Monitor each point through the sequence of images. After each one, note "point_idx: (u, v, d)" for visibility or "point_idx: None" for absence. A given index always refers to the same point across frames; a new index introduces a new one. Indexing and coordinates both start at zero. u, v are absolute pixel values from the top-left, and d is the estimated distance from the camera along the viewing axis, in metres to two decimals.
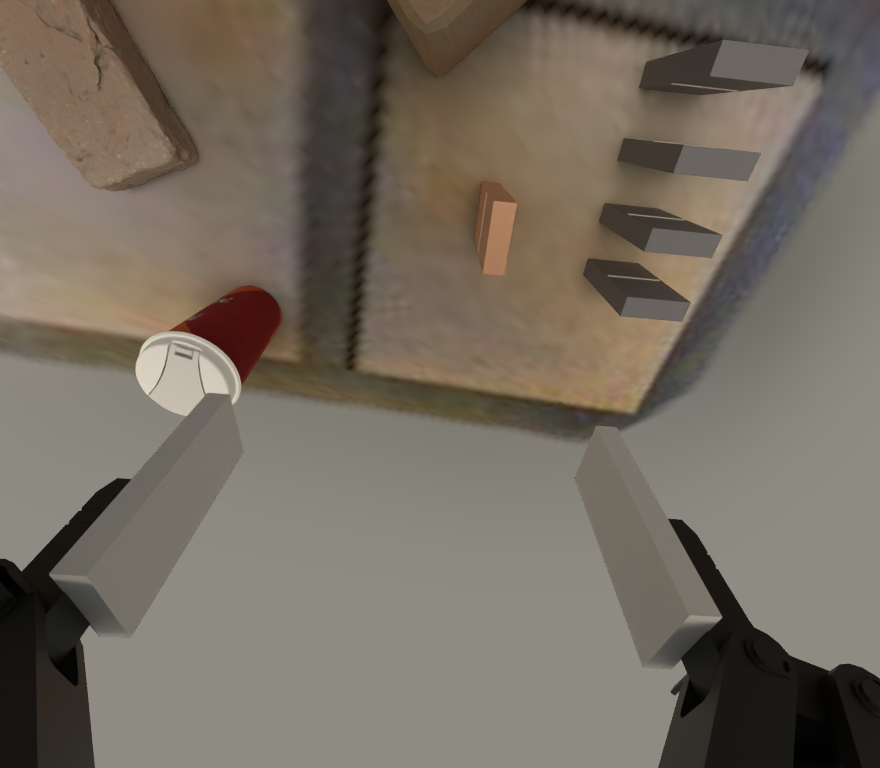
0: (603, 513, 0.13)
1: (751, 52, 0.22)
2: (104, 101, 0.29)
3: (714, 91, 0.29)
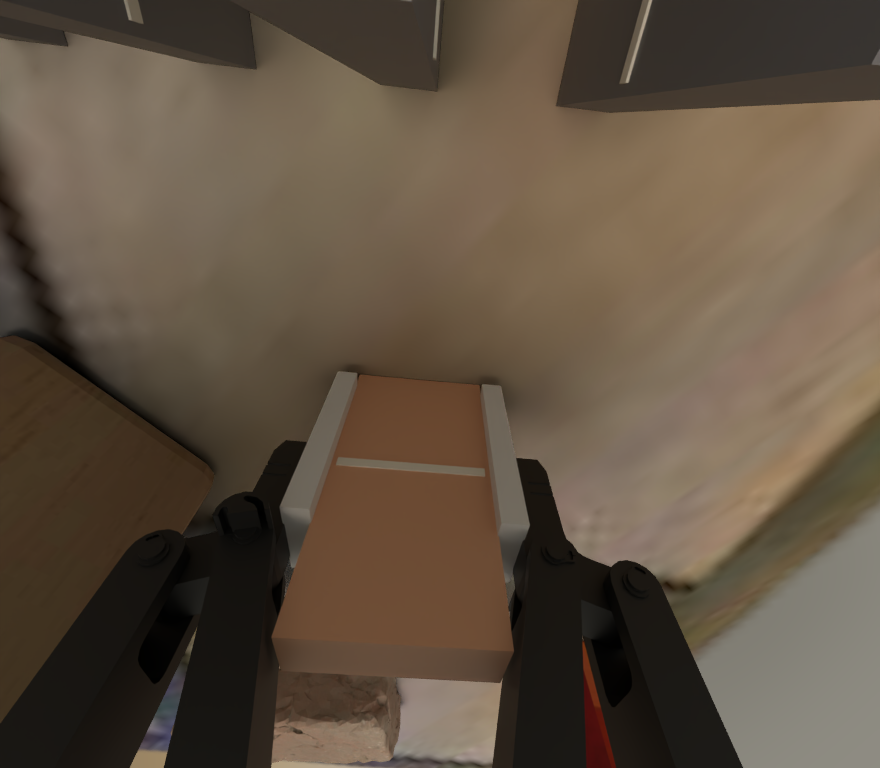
0: None
1: None
2: (325, 740, 0.30)
3: None
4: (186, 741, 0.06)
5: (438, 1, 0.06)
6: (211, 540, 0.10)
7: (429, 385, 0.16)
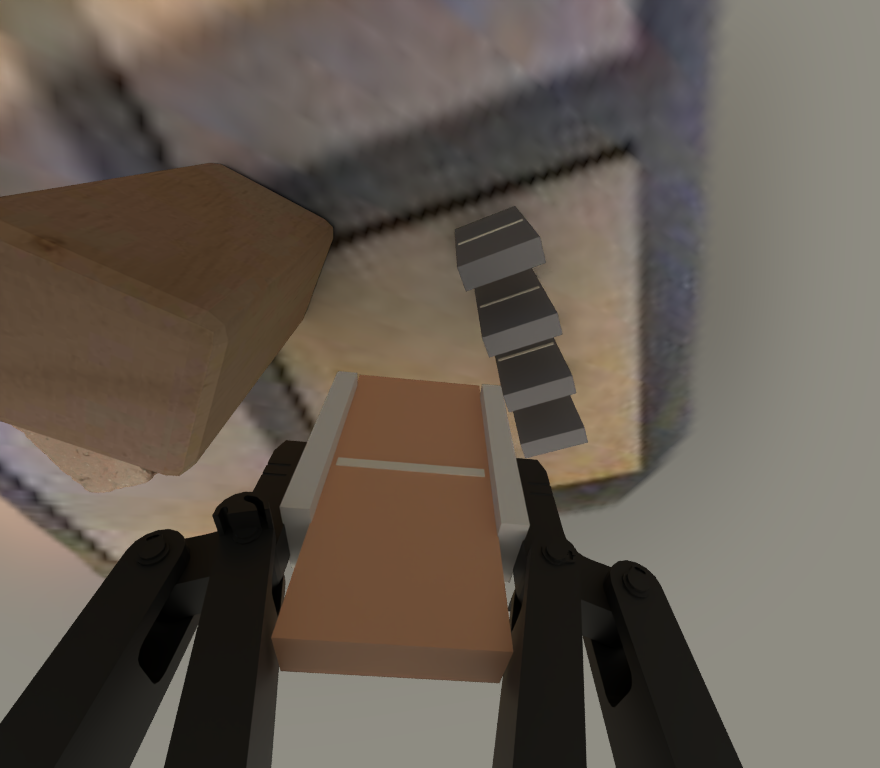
0: None
1: (489, 262, 0.23)
2: (100, 456, 0.41)
3: None
4: (186, 741, 0.06)
5: None
6: (211, 540, 0.10)
7: (429, 386, 0.16)
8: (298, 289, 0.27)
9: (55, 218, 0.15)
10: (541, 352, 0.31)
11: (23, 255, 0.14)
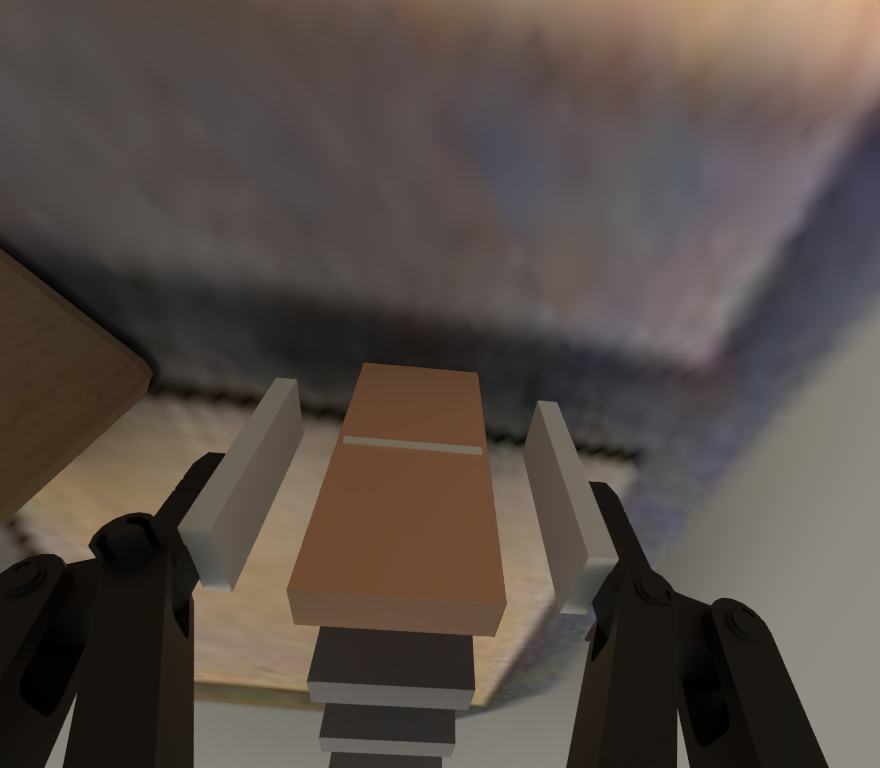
0: (539, 480, 0.14)
1: (371, 689, 0.12)
2: None
3: None
4: None
5: None
6: (101, 564, 0.09)
7: (429, 372, 0.17)
8: None
9: None
10: None
11: None
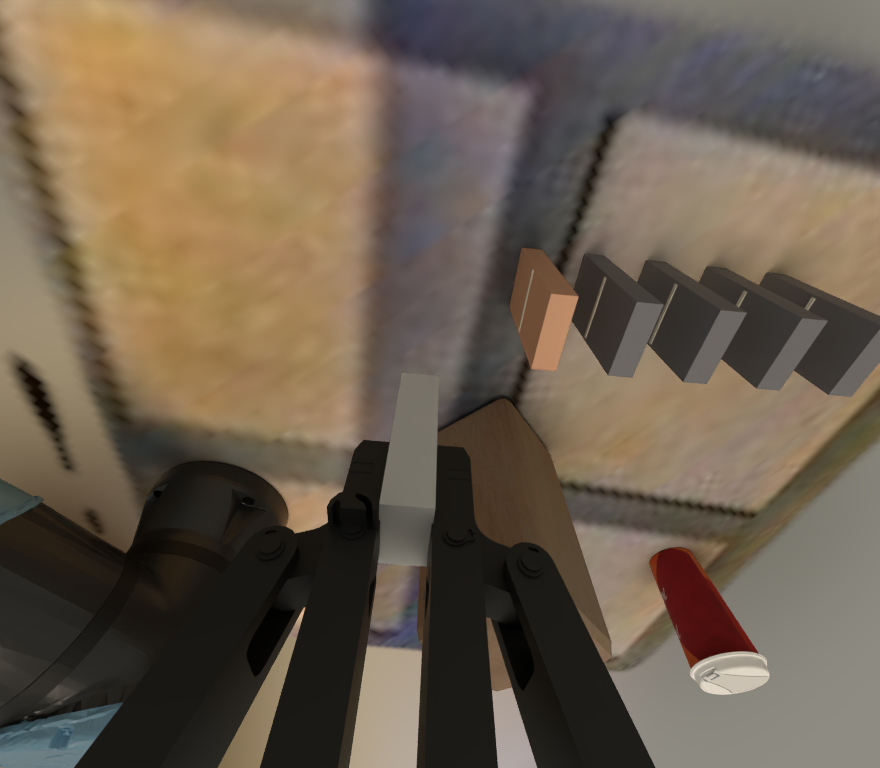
0: None
1: (624, 350, 0.24)
2: None
3: None
4: (287, 723, 0.07)
5: None
6: (315, 536, 0.10)
7: (516, 275, 0.32)
8: (536, 468, 0.33)
9: None
10: None
11: None
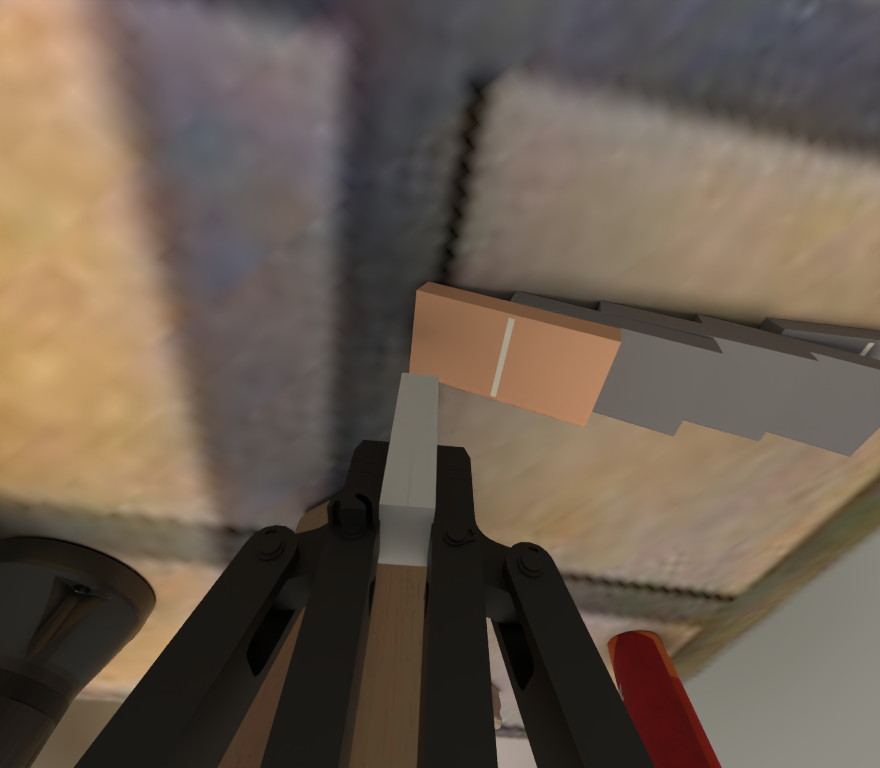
0: None
1: None
2: None
3: None
4: (287, 724, 0.07)
5: None
6: (315, 536, 0.10)
7: (419, 329, 0.21)
8: (410, 585, 0.23)
9: None
10: (809, 378, 0.20)
11: None
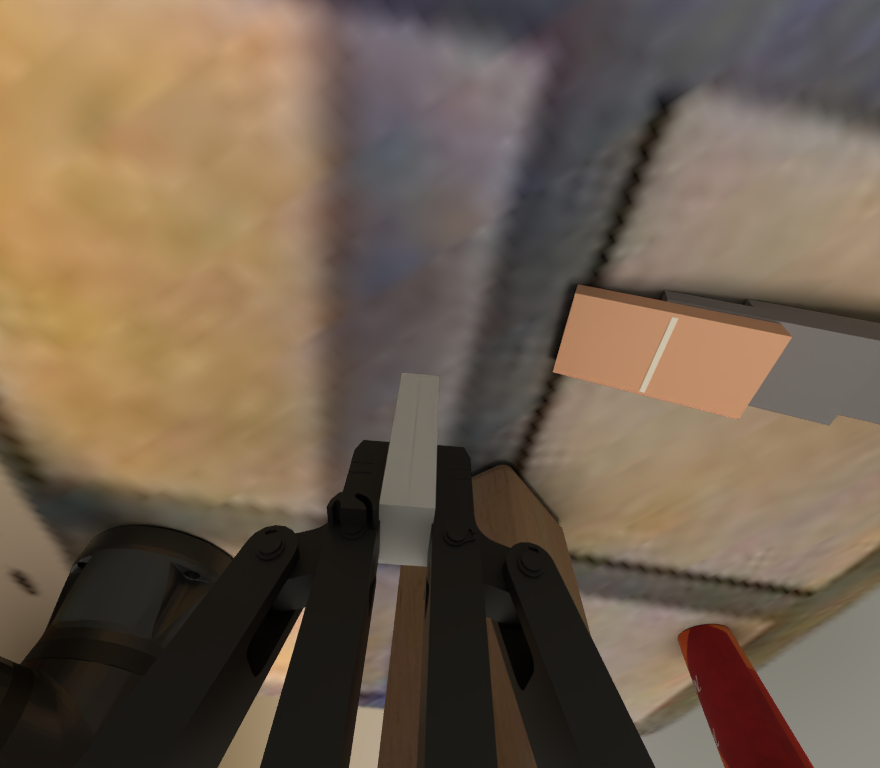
0: None
1: None
2: None
3: None
4: (287, 723, 0.07)
5: None
6: (315, 536, 0.10)
7: (571, 330, 0.22)
8: None
9: None
10: None
11: None
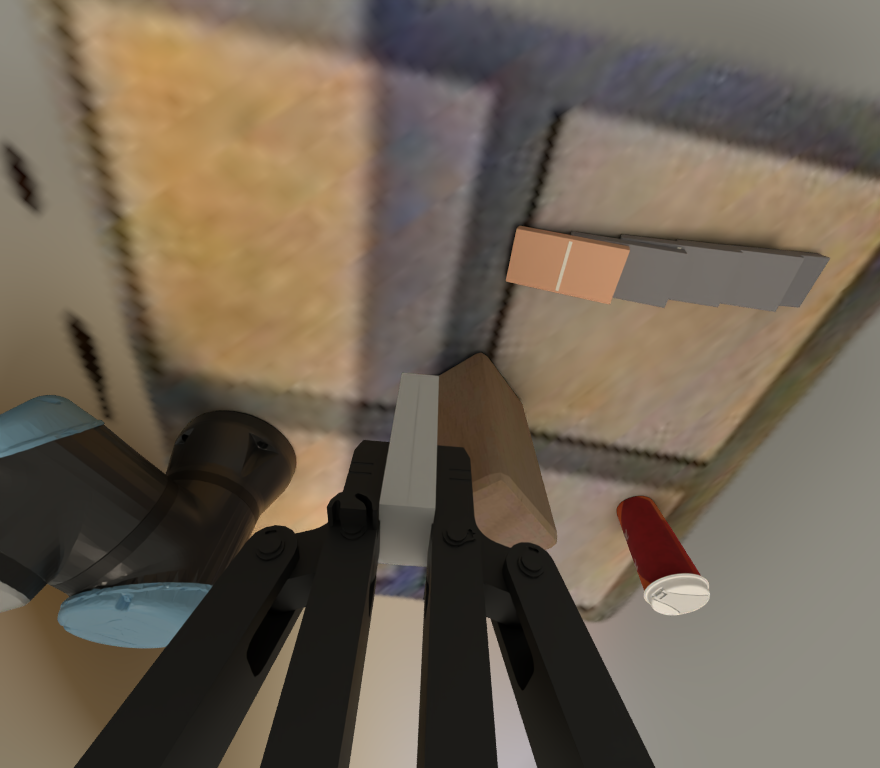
0: None
1: None
2: None
3: None
4: (287, 723, 0.07)
5: None
6: (315, 536, 0.10)
7: (515, 252, 0.37)
8: (504, 405, 0.40)
9: None
10: (743, 266, 0.36)
11: None
